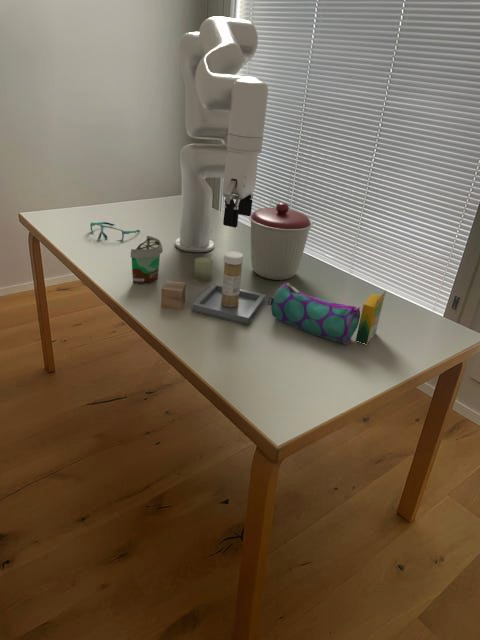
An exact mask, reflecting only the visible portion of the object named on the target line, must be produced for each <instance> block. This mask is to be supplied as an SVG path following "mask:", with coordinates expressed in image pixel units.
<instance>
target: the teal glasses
mask: <svg viewBox="0 0 480 640" xmlns="http://www.w3.org/2000/svg"><path fill="white" fill-rule="evenodd" d="M95 225H96V226H99V227H100V232H99V234H98V237H97V238H98V239H101V237H102V236H103V238H104V240H105V241H108V236H107V234H106V233H105V232H104V228H109V229H113V230H117V231H121V235H122V236H121V237H122V238H121V239H120V240H116V242H122V241H124V239H125V238H124V237H125V235H130V234H131V233H132V234H133V233H134V234H136V233H140V232H141V230H139V229H136V230H123V229H120V228H116V227H114V226H111V225H115V226H116V224H114V223H111V222H107V221H99V222H90V231H91V234H92V235H93V236H96V235H95V233H94V232H93V226H95Z"/></svg>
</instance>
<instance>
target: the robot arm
mask: <svg viewBox="0 0 480 640" xmlns="http://www.w3.org/2000/svg"><path fill="white" fill-rule="evenodd" d="M258 38H259V36H258V30H257V28H256V27H255V24H254V23H252V22H251V21H250V20H248V19H247V20H246V19H241V18H232V17H226V16H211V17H208V18H206V19H205V20H204V21H203V22H202V23H201V24H200V27H199V30H198V31H191V32H186V33H184V34H182V35H181V37H180V39H179V42H178V60H179V66H180V69H181V73H182V76H183V77H182V78H183V81H184V87H185V88H184V89H185V96H184V97H185V98H184V99H185V102H184V103H185V104H184V105H185V106H184V107H185V108H184V109H185V110H184V111H185V113H184V123H185V130H186V134H187V135H188V136H189V137H191V138H194V139H200V140H217V141H218V140H219V141H220V142H221V143H222V144H211V143H189V144H186V145H184V146H183V147H182V148H181V150H180V154H179V165H180V174H181V197H180V198H181V202H180V229H179V237H177V239H175V241H174V246H175V247H176V248H177V249H178V250H181V251H184V252H187V253H188V252H189V253H206V252H210V251H211V250H213V249H214V248H215V243H214V241H213V240H211V234H212V232H213V230H212V228H211V223H212V209H213V207H212V206H213V189H212V188H211V186H210V185H209V183H208V182H207V181H206V179H207V178H209V179H211V178H217V179H218V178H219V179H223V181H222V189H221V194H222V197H224V200H223V201H224V205H223V207H224V210H223V211H224V212H223V219H222V220H223V223H222V225H224V226H226V227H231V228H235V229H236V228H238V223H239V215H241V216H245V217H249V216H250V215H251V213H252V209H253V208H252V207H253V198H254V190H255V188H256V182H257V172H258V155H259V154H261V153H262V149H263V139H264V131H265V124H266V122H265V121H266V115H267V114H266V113H267V104H268V98H269V97H268V95H269V87H268V85H267V83H266V82H264V81H261V80H260V79H259V78H257V77H254V76H247V75H237V74H238V73H239V72H240V70H241V69H242V68H244V66H245V65H246V64H247V63H248V62H250V61H251V60H252V58H253V57H254V56H255V54H256V51H257V49H258V44H259V39H258Z"/></svg>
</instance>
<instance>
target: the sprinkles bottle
mask: <svg viewBox="0 0 480 640" xmlns="http://www.w3.org/2000/svg"><path fill="white" fill-rule="evenodd" d="M223 261H224V262H223V263H224V264H223V275H222V283H221V285H222V300H221V304H222V305H223V306H225V307H236V306H238V304H239V302H238V300H239V293H240V289H241V283H242V282H241V281H242V267H243V262H244V255H243V253H242V252H239V251H235V250H234V251H233V250H231V251H230V250H229V251H227V252H224V254H223Z"/></svg>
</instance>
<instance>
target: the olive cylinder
mask: <svg viewBox="0 0 480 640" xmlns="http://www.w3.org/2000/svg"><path fill="white" fill-rule="evenodd" d="M213 263H214V260H213V259H212V258H209V257H203V256H200V257H196V258H194V268H193V269H194V270H193V278H194V279H195V280H198V281H202V282H205V281H206V282H207V281H210V280H212V279H213V269H214V268H213V267H214V265H213Z"/></svg>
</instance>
